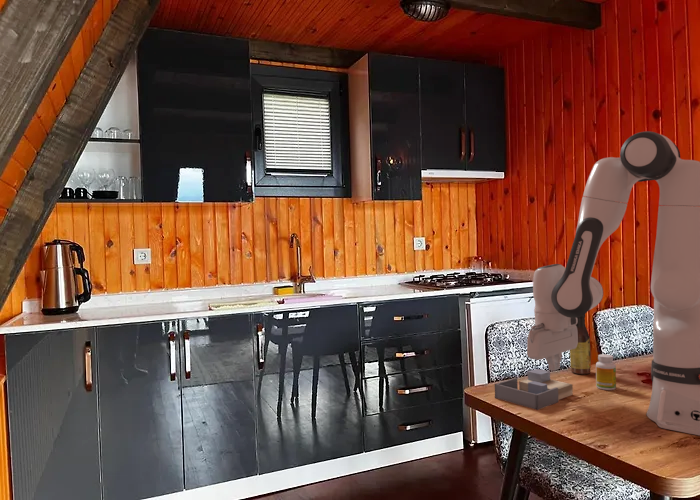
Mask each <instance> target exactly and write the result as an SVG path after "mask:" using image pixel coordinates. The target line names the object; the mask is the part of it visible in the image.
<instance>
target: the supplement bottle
mask: <svg viewBox="0 0 700 500" xmlns="http://www.w3.org/2000/svg"><path fill="white" fill-rule="evenodd" d="M597 359H598V361H597V362H596V363H595V386H596V388H597V389H599V390H602V391H603V390H604V391H613V390H616V389H617V366H616V364H615V363H614V356H613V355H611V354H607V353H606V354H604V353H603V354H602V353H601V354H598V357H597Z"/></svg>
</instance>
